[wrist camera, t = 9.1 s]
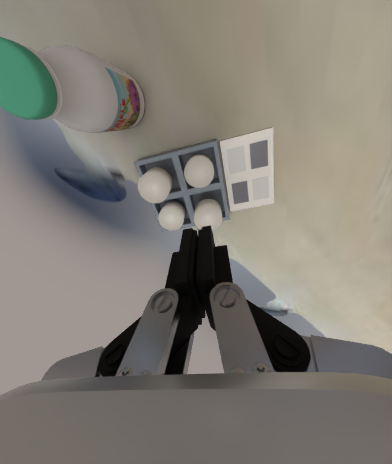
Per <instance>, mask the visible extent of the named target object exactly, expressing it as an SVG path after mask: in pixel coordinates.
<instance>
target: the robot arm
mask: <svg viewBox="0 0 392 464" xmlns="http://www.w3.org/2000/svg"><path fill="white" fill-rule="evenodd" d="M205 310H206V313H207V316H208V319H209V323H210V326H211V327H212V328H213V329H214V330H215V331H216V333H217V339H218V343H219V349H220V354H221V359H222V364H223V368H224V373H221V374H187V371H188V366H189V360H190V355H191V350H192V344H193V339H194V331H195V330H196V329H197V328H198V325H201V324H202V318H205ZM0 464H392V354H391V353H389V352H387V351H385V350H384V349H382V348H379V347H376V346H373V345H367V344H362V343H356V342H350V341H344V340H338V339H332V338H326V337H320V336H314V335H311V336H310V337H306V336H301V335H299V334H297V333H296V332H295V331H294V330H292V329H291V328H289V327H288V326H286V325H285V324H283V323H282V322H280V321H279V320H277V319H275V318H274V317H272V316H271V315H269V314H268V313H266V312H265V311H263V310H262V309H260V308H259V307H257V306H256V305H254V304H253V303H251V302H250V301H248V300H246V298H245V296H244V294H243V291H242V290H241V288H240V287H239V286H238V285H236V284H234V283H233V281H232V275H231V269H230V262H229V256H228V250H227V245H224V246H217V247H215V243H214V238H213V233H212V228H211V225H210V226H203V227H202V229H200V230H199V231H198V235H197V231H196V230H193V229H192V228H190V229H184V230H183V234H182V239H181V244H180V250H179V252H174V253H173V255H172V258H171V263H170V267H169V272H168V276H167V281H166V286H165V289H161V290H159V291H157V292H156V293H154V294H153V295H152V296H151V298H150V299H149V301H148V304H147V306H146V308H145V310H144V313H143V315H142V316H141V317H140V318H139V319H138V320H136V321H135V322H134V323H133V324H132V325H131V326H129V327H128V328H127V329H126V330H125V331H124V332H122V333H121V334H120V335H119V336H118V337H117V338H115V339H114V340H113V341H112V342H111V343H110V344H109V345H108V346H107V347H106V348H103V347H99V348H95V349H92V350H89V351H86V352H83V353H80V354H77V355H73V356H70V357H67V358H64V359H62V360H60V361H58V362H56V363H55V364H54V365H52V366H51V367H50V368H49V370H48V371H47V372H46V373H45V375H44V377H43V378H42V380H41V381H38V382H33V383H29V384H26V385H23V386H20V387H17V388H15V389H13V390H11V391H8V392H7V393H4V394H2V395H0Z"/></svg>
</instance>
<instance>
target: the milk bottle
mask: <svg viewBox="0 0 392 464" xmlns="http://www.w3.org/2000/svg"><path fill="white" fill-rule="evenodd" d="M0 106H1V107H2V108H3V109H5V110H6V111H8V112H9V113H11V114H13V115H15V116H17V117H21V118H24V119H34V120H37V119H51V118H55V119H57V120H58V121H59V122H61V123H63V124H64V125H66V126H68V127H70V128H73V129H75V130H79V131H82V132H90V133H97V132H108V131H116V130H122V129H128V128H132V127H134V126H136V125H137V124H138V123H139V122H140V121H141V119H142V117H143V114H144V109H145V102H144V97H143V93H142V91H141V88H140V87H139V85H138V83H137V82H136V81H135V79H134V78H133V77H132V76H130V75H129V74H128V73H126V72H124V71H123V70H121V69H119V68H117V67H116V66H114V65H112V64H110V63H108V62H106V61H104V60H102V59H100V58H99V57H97V56H95V55H93V54H91V53H88V52H86V51H84V50H82V49H79V48H76V47H72V46H68V45H54V46H50V47H47V48H45V49H43V50H41V51H40V52H38V53H37V52H36V51H34V50H32V49H31V48H29V47H26V46H23V45H20V44H18V43H16V42H14V41H11V40H8V39H5V38H2V37H0Z"/></svg>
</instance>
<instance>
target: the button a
mask: <svg viewBox="0 0 392 464" xmlns="http://www.w3.org/2000/svg"><path fill="white" fill-rule="evenodd" d="M171 188H172V178H171V176H170V174H169V173H168V172H167V171H166V170H164V169H162V168H158V167H155V168H151V169H149V170H148V171H147V172H146V173H145V174H144V175H143V176H142V177H141V178H140V179H139V181H138V190H139V193H140V195H141V196H142V197H143V198H144V199H145V200H146V201H148V202H151V203H161V202H163V201H164V200H165V199H166V198H167V196H168V194H169V192H170V190H171Z"/></svg>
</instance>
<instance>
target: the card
mask: <svg viewBox="0 0 392 464" xmlns="http://www.w3.org/2000/svg"><path fill="white" fill-rule="evenodd" d="M220 148H221V154H222V161H223V167H224V173H225V180H226V186H227V193H228V199H229V206H230V211H236V210H241V209H247V208H252V207H257V206H262V205H268V204H273V203H274V161H273V127H271V128H268V129H264V130H260V131H256V132H252V133H249V134H245V135H241V136H237V137H233V138H230V139H226V140H222V141H220Z"/></svg>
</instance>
